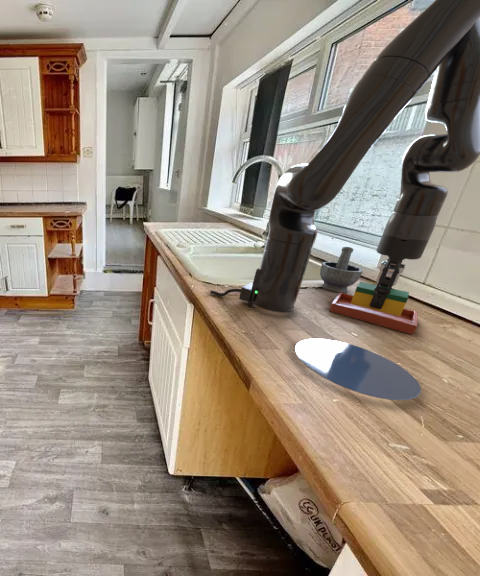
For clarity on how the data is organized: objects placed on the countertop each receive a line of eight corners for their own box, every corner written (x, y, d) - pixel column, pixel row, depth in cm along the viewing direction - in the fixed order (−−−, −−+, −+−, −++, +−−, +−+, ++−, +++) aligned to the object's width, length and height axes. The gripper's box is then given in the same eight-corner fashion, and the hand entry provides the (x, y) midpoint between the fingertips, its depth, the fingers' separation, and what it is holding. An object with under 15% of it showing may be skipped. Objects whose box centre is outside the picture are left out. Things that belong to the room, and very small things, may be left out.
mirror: (280, 367, 53) (282, 361, 52) (305, 334, 64) (307, 329, 64) (417, 425, 42) (421, 418, 41) (418, 373, 53) (421, 367, 53)
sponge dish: (329, 310, 76) (331, 303, 75) (337, 299, 83) (340, 292, 83) (413, 334, 66) (417, 326, 65) (413, 319, 74) (417, 311, 73)
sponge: (350, 303, 75) (356, 286, 73) (353, 298, 79) (360, 281, 77) (400, 316, 69) (408, 298, 67) (401, 309, 73) (409, 292, 71)
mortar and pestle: (353, 297, 85) (369, 256, 81) (313, 288, 91) (326, 249, 86) (353, 287, 93) (368, 248, 89) (317, 279, 99) (329, 242, 94)
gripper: (386, 228, 74) (360, 292, 81) (380, 235, 65) (352, 307, 71) (429, 234, 70) (399, 301, 76) (430, 242, 60) (395, 318, 66)
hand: (376, 304), depth 74 cm, fingers closed on sponge, 5 cm apart
